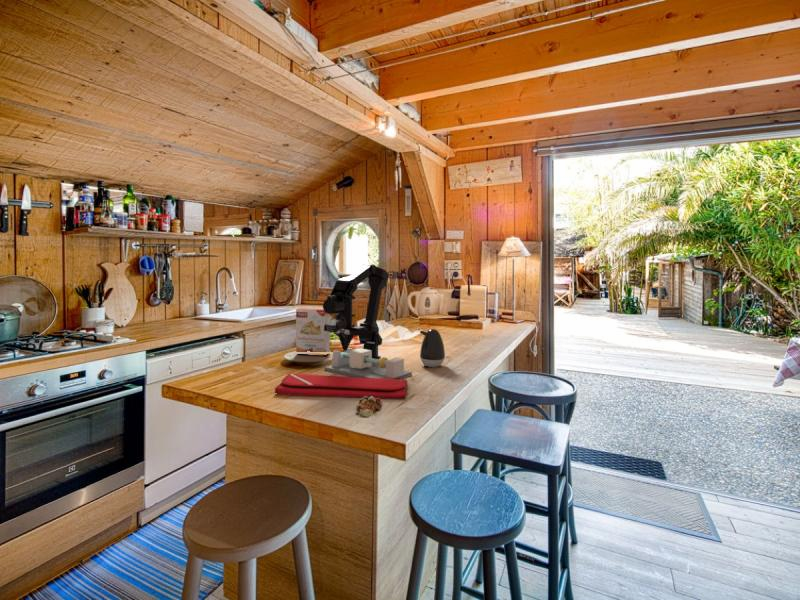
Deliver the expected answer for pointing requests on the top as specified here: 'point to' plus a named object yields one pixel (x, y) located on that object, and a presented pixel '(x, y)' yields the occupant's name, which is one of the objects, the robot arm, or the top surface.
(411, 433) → the top surface
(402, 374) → the board
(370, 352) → the sleeve
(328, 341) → the cracker box
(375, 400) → the pastry
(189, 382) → the top surface
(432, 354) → the pump dispenser
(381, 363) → the pale teal rod
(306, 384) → the dish drying mat
